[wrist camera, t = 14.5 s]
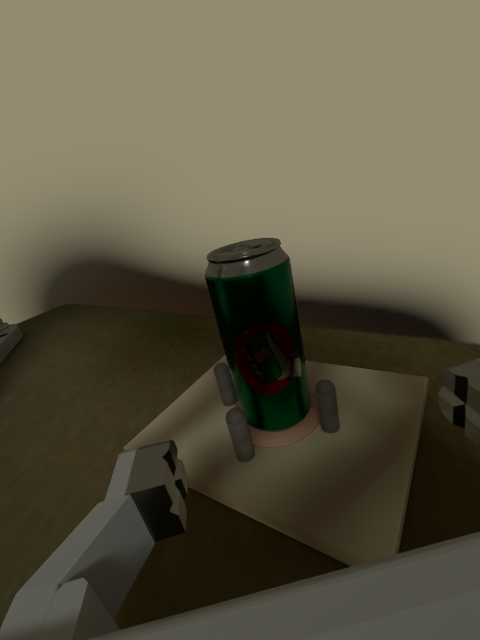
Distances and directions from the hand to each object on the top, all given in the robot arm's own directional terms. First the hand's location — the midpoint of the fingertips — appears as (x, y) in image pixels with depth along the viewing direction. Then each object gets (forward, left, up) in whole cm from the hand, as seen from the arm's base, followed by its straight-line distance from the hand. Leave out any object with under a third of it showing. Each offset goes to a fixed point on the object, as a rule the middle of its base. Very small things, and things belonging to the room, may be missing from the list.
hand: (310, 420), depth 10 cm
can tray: (-7, +9, -10) cm, 15 cm away
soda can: (-7, +8, -9) cm, 14 cm away
